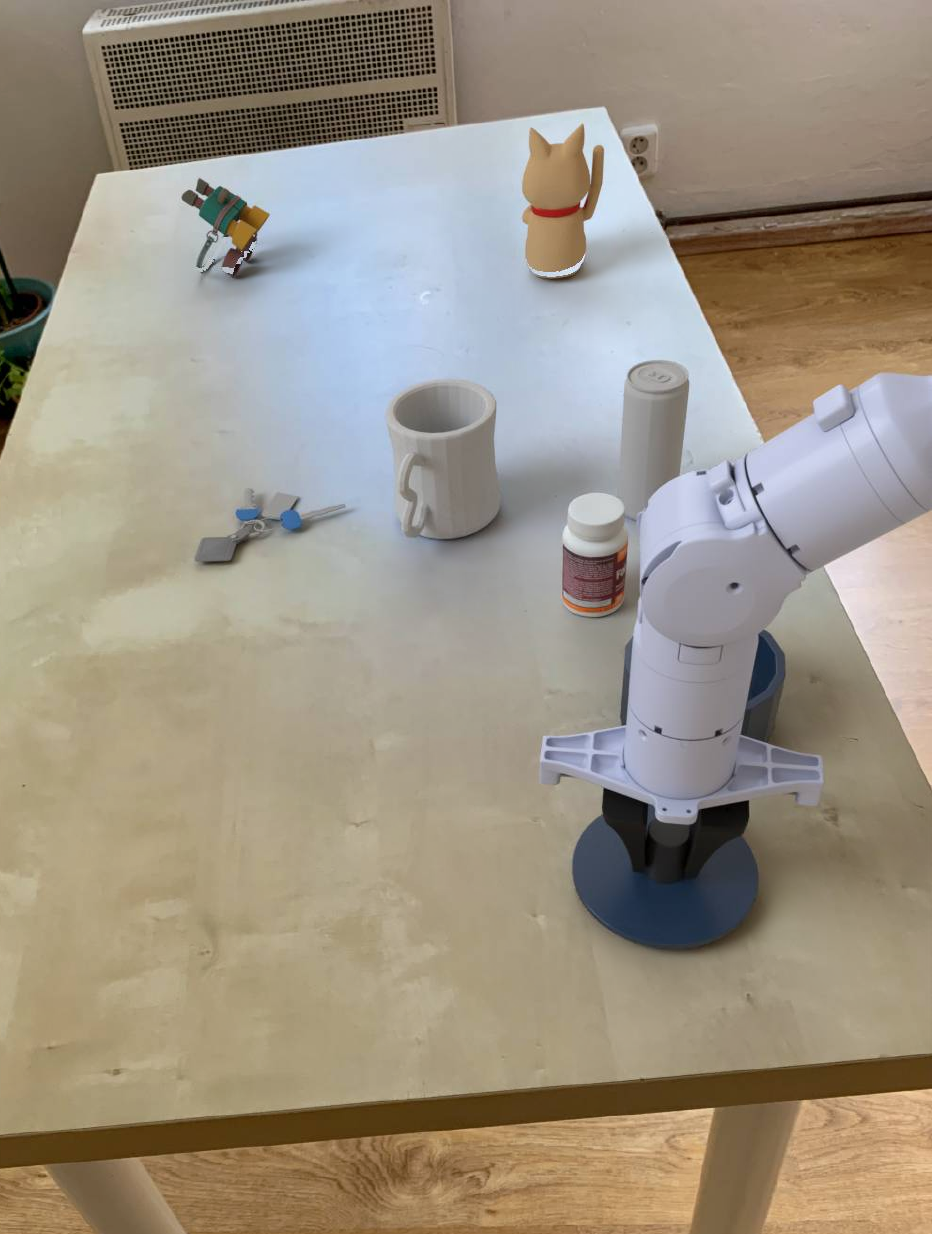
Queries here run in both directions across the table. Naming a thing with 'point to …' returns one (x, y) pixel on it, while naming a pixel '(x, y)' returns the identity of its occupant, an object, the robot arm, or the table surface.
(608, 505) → the pill bottle
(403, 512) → the mug
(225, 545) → the key chain
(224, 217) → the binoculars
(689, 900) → the lid
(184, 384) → the table surface
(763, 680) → the pot
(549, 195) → the figurine
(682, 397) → the beverage can
